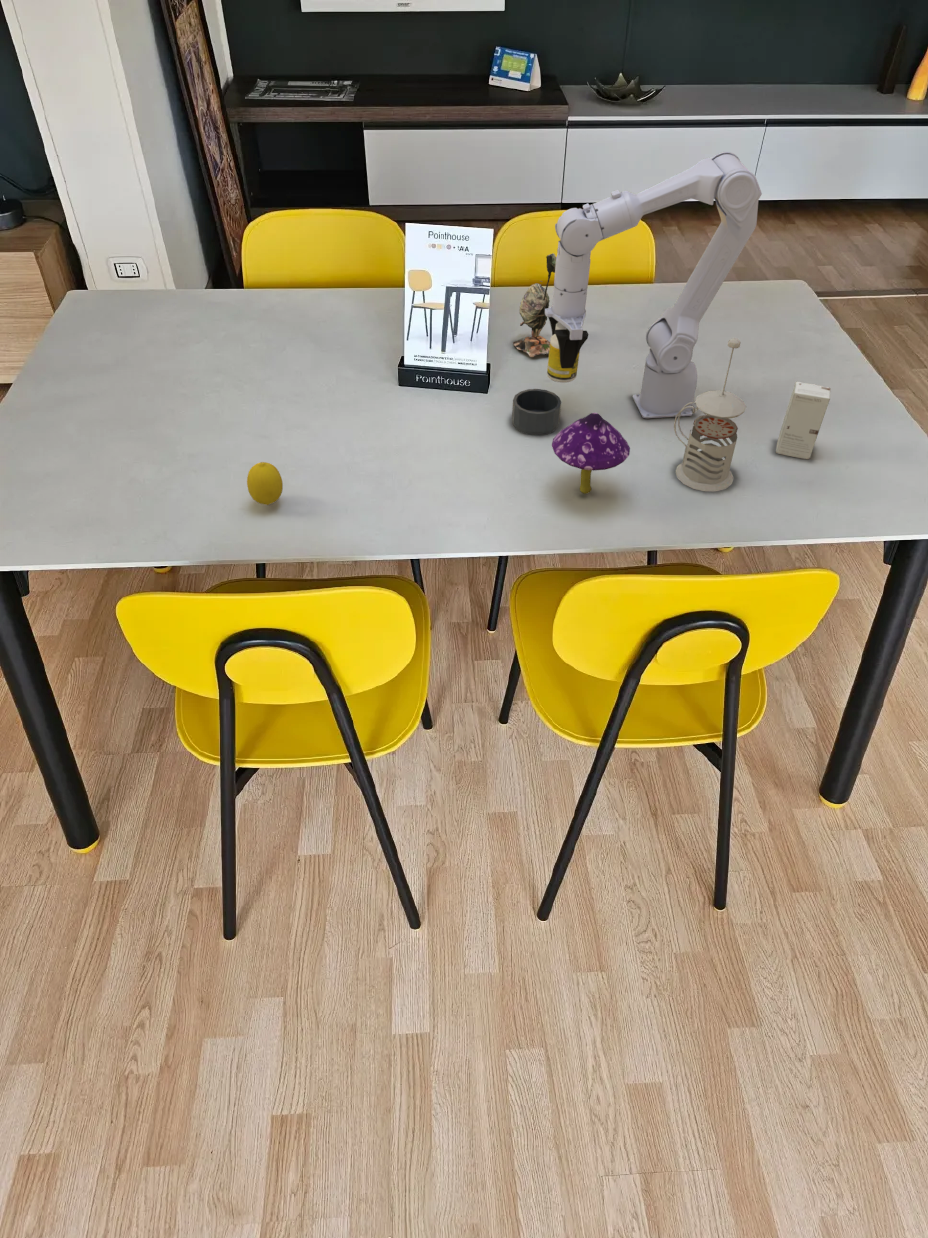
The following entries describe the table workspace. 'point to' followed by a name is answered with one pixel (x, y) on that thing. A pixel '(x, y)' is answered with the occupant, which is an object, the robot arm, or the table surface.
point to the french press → (711, 438)
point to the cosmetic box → (803, 420)
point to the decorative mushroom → (590, 447)
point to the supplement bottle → (554, 362)
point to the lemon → (264, 483)
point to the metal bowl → (536, 412)
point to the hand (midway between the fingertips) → (563, 359)
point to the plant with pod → (536, 314)
